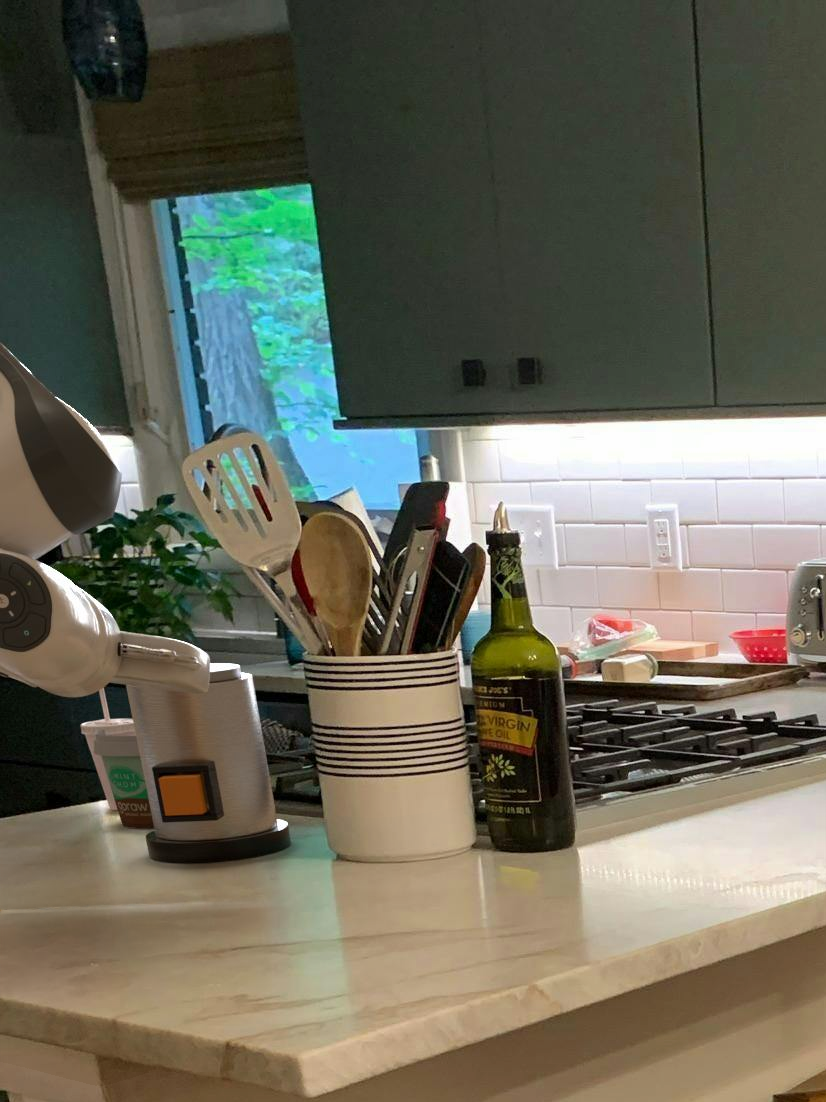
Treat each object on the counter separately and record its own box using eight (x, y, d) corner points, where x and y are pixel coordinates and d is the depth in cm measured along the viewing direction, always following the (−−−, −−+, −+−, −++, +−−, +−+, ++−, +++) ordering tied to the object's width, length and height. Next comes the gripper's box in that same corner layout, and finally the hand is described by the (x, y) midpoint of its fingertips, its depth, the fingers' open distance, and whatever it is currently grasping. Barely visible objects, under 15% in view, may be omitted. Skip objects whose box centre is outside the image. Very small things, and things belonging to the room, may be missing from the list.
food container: (86, 830, 213) (66, 737, 209) (117, 820, 219) (99, 729, 214) (188, 830, 211) (170, 736, 207) (217, 820, 216) (200, 728, 212)
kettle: (269, 861, 194) (232, 653, 186) (127, 868, 193) (84, 659, 185) (311, 828, 210) (279, 636, 202) (180, 834, 209) (143, 641, 201)
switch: (202, 814, 190) (195, 777, 189) (165, 815, 190) (158, 778, 188) (207, 811, 192) (201, 774, 190) (171, 812, 192) (163, 775, 190)
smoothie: (145, 800, 230) (120, 678, 225) (163, 806, 226) (139, 682, 220) (89, 807, 227) (64, 684, 221) (107, 814, 222) (81, 688, 216)
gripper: (194, 620, 164) (229, 650, 177) (-64, 584, 160) (-8, 617, 174) (190, 696, 165) (224, 720, 178) (-67, 661, 161) (-12, 689, 175)
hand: (107, 669), depth 176 cm, fingers closed
